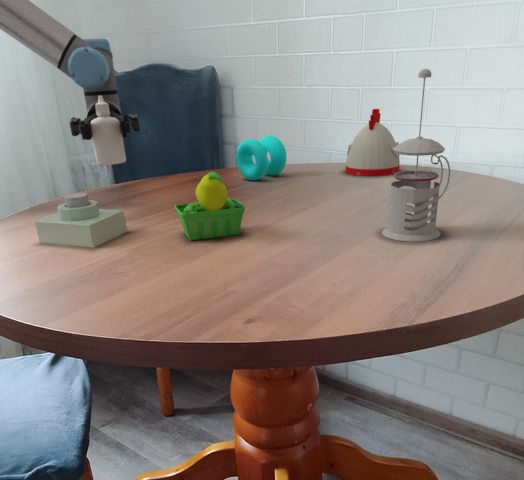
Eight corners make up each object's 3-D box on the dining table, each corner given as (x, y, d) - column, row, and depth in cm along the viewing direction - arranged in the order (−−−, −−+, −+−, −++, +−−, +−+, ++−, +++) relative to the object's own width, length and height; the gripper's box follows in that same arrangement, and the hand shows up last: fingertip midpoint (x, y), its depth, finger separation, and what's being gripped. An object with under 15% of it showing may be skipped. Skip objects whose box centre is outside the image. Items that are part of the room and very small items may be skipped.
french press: (370, 231, 94) (378, 70, 82) (420, 220, 99) (435, 66, 87) (408, 245, 87) (423, 70, 75) (461, 232, 91) (483, 66, 79)
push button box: (39, 242, 98) (31, 209, 95) (76, 227, 106) (69, 196, 103) (93, 248, 93) (86, 213, 90) (127, 231, 101) (121, 199, 98)
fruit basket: (236, 224, 102) (232, 162, 97) (250, 237, 94) (246, 170, 89) (177, 232, 99) (169, 168, 94) (185, 246, 92) (177, 177, 86)
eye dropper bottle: (102, 161, 108) (90, 95, 102) (129, 161, 107) (118, 94, 101) (93, 165, 104) (80, 97, 98) (121, 164, 103) (110, 95, 97)
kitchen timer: (404, 167, 145) (408, 106, 138) (392, 177, 134) (396, 111, 127) (353, 165, 150) (355, 106, 143) (338, 175, 139) (340, 111, 132)
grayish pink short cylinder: (61, 209, 96) (59, 197, 95) (76, 203, 99) (74, 192, 98) (79, 210, 94) (77, 198, 93) (94, 204, 98) (91, 193, 97)
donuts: (289, 176, 141) (288, 135, 136) (262, 183, 135) (260, 140, 130) (262, 172, 147) (260, 133, 142) (235, 179, 141) (232, 138, 136)
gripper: (150, 134, 121) (160, 148, 102) (64, 141, 118) (56, 156, 98) (145, 98, 118) (154, 104, 98) (56, 103, 114) (47, 111, 94)
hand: (105, 130), depth 98 cm, fingers closed on eye dropper bottle, 6 cm apart
